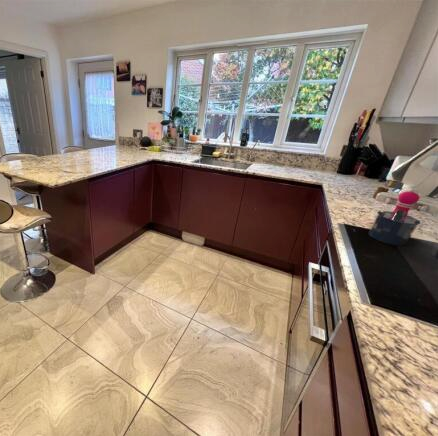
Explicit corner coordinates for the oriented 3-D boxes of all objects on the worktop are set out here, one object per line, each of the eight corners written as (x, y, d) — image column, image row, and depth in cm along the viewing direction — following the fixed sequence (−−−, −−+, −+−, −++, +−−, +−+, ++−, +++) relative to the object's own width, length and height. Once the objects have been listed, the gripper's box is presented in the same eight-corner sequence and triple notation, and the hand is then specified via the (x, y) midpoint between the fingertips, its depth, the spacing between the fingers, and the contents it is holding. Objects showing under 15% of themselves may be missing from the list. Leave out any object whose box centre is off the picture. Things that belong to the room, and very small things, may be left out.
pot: (413, 245, 93) (426, 224, 89) (387, 245, 92) (399, 224, 88) (385, 231, 104) (395, 212, 100) (361, 231, 103) (370, 212, 99)
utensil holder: (369, 197, 150) (378, 179, 145) (378, 197, 151) (386, 179, 146) (378, 200, 145) (388, 181, 140) (387, 200, 145) (397, 181, 140)
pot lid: (428, 226, 89) (434, 216, 87) (398, 226, 88) (404, 216, 86) (394, 213, 100) (399, 204, 99) (368, 213, 99) (372, 204, 98)
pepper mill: (384, 232, 103) (407, 189, 95) (376, 225, 109) (397, 185, 101) (405, 235, 101) (430, 192, 92) (395, 228, 107) (419, 187, 99)
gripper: (381, 187, 114) (375, 192, 106) (444, 199, 100) (443, 206, 92) (375, 199, 117) (369, 205, 109) (436, 213, 102) (434, 220, 94)
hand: (404, 205), depth 100 cm, fingers open, 8 cm apart
